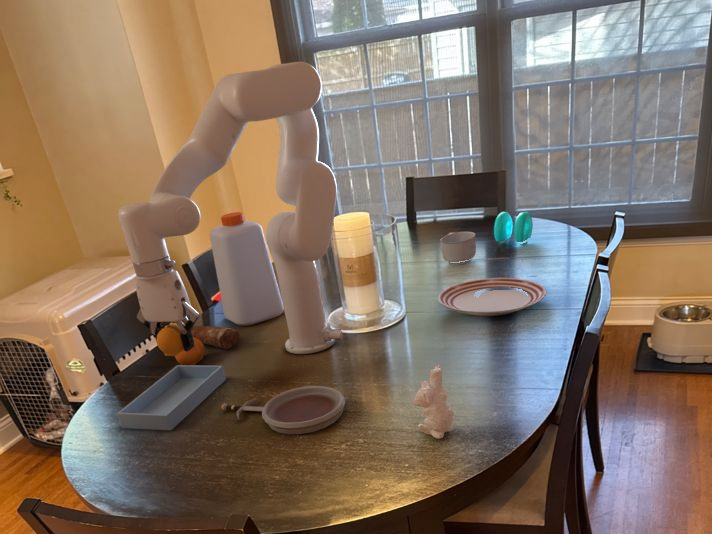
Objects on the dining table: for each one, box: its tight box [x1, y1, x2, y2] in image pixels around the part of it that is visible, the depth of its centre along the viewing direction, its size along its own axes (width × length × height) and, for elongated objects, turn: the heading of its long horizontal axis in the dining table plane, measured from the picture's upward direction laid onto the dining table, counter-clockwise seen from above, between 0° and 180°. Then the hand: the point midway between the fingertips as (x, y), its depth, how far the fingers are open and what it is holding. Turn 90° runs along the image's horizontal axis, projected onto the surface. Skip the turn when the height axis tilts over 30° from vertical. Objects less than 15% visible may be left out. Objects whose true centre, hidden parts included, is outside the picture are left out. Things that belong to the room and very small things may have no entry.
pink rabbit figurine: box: [412, 365, 455, 440], centre depth 118 cm, size 8×7×12 cm
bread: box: [191, 325, 241, 350], centre depth 176 cm, size 6×19×6 cm, turn 47°
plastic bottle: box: [209, 211, 284, 327], centre depth 185 cm, size 15×15×28 cm
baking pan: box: [116, 364, 227, 431], centre depth 148 cm, size 12×24×4 cm, turn 162°
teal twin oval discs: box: [493, 211, 534, 246], centre depth 216 cm, size 10×10×10 cm
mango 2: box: [174, 338, 205, 365], centre depth 167 cm, size 6×9×6 cm, turn 162°
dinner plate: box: [437, 277, 547, 317], centre depth 173 cm, size 28×27×3 cm
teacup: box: [439, 231, 477, 266], centre depth 209 cm, size 14×11×8 cm
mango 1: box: [156, 322, 185, 357], centre depth 147 cm, size 6×9×6 cm, turn 162°
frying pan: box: [220, 385, 346, 435], centre depth 136 cm, size 17×3×28 cm
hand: (176, 348), depth 148 cm, fingers closed on mango 1, 5 cm apart
